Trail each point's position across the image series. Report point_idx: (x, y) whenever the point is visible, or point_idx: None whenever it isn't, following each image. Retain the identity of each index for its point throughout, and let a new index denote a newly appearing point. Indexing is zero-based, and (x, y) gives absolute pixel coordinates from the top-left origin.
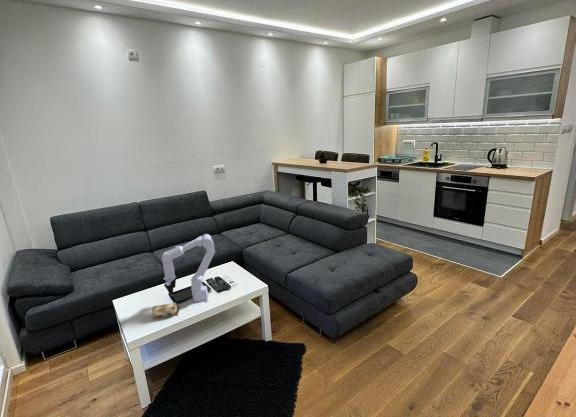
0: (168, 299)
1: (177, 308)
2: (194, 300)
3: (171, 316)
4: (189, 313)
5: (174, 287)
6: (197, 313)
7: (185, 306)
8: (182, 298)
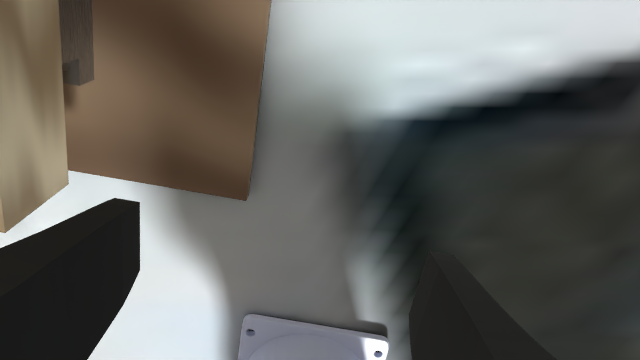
0: (565, 29)
1: (186, 162)
2: (263, 356)
3: None
4: None
5: (412, 312)
6: None
7: (231, 242)
8: (459, 219)
